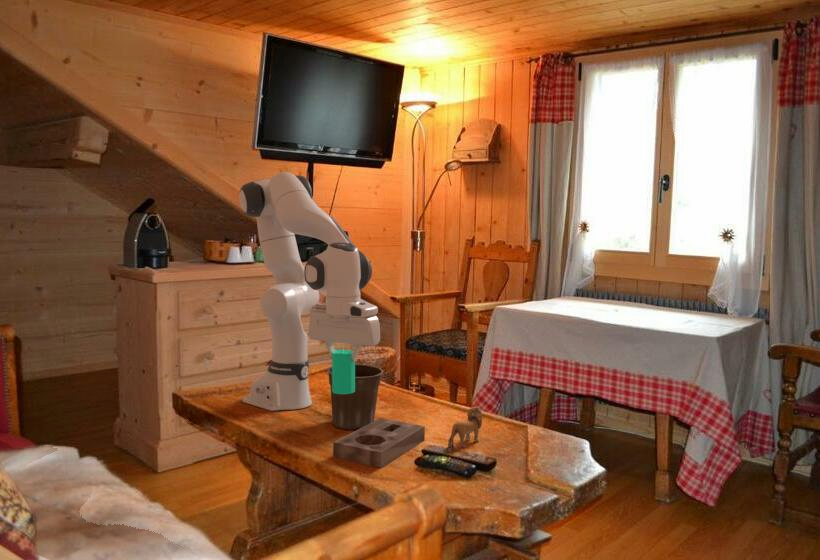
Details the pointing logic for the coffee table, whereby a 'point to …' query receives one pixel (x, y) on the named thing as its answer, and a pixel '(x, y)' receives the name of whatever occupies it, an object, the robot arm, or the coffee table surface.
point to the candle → (343, 372)
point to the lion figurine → (467, 427)
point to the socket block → (378, 442)
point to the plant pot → (357, 399)
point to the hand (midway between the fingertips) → (343, 359)
